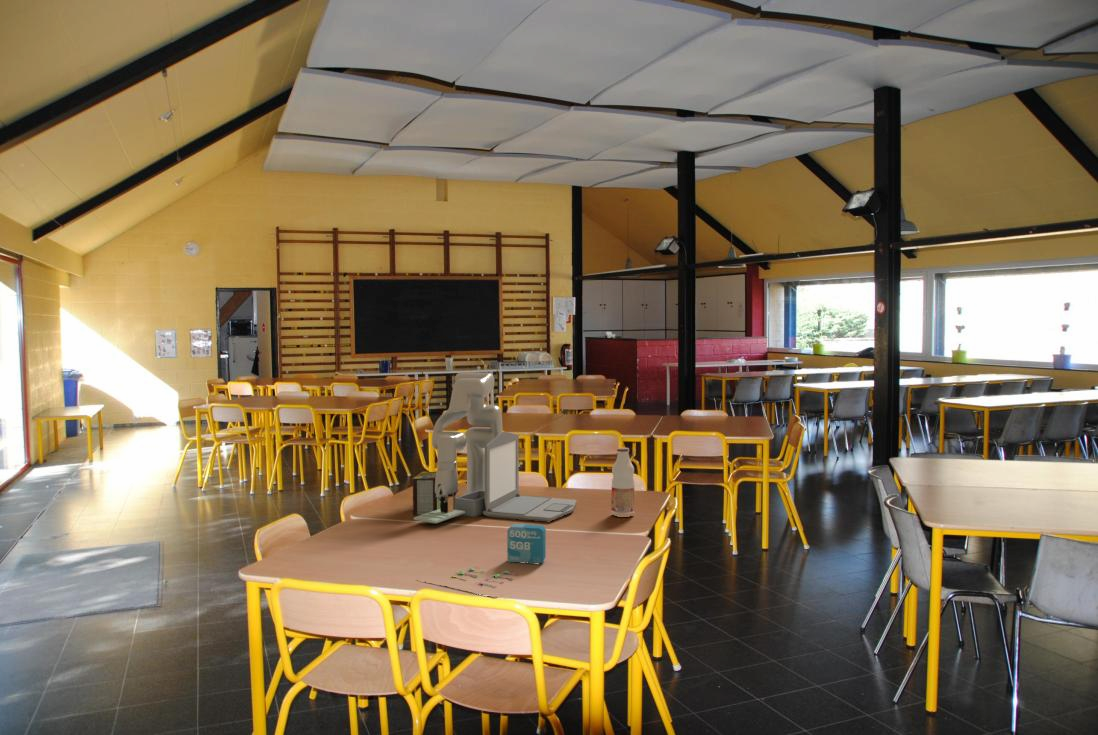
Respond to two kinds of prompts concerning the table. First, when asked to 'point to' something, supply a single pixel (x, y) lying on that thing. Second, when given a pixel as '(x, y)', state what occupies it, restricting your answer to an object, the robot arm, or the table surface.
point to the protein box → (424, 493)
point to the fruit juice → (622, 484)
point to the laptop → (514, 486)
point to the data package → (526, 543)
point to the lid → (440, 513)
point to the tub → (471, 504)
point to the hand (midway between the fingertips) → (447, 510)
